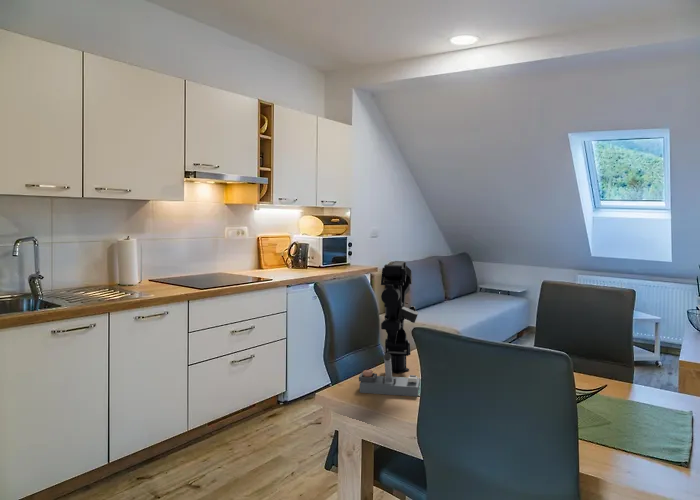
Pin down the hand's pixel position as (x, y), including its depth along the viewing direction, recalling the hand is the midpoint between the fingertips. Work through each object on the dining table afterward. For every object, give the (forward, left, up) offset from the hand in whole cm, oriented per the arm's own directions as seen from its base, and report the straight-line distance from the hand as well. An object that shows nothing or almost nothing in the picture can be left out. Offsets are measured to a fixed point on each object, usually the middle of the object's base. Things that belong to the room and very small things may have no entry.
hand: (393, 344), depth 179 cm
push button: (+12, 0, -9) cm, 15 cm away
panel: (+7, +6, -13) cm, 16 cm away
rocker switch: (+2, +12, -10) cm, 16 cm away
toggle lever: (+9, +7, -10) cm, 15 cm away
